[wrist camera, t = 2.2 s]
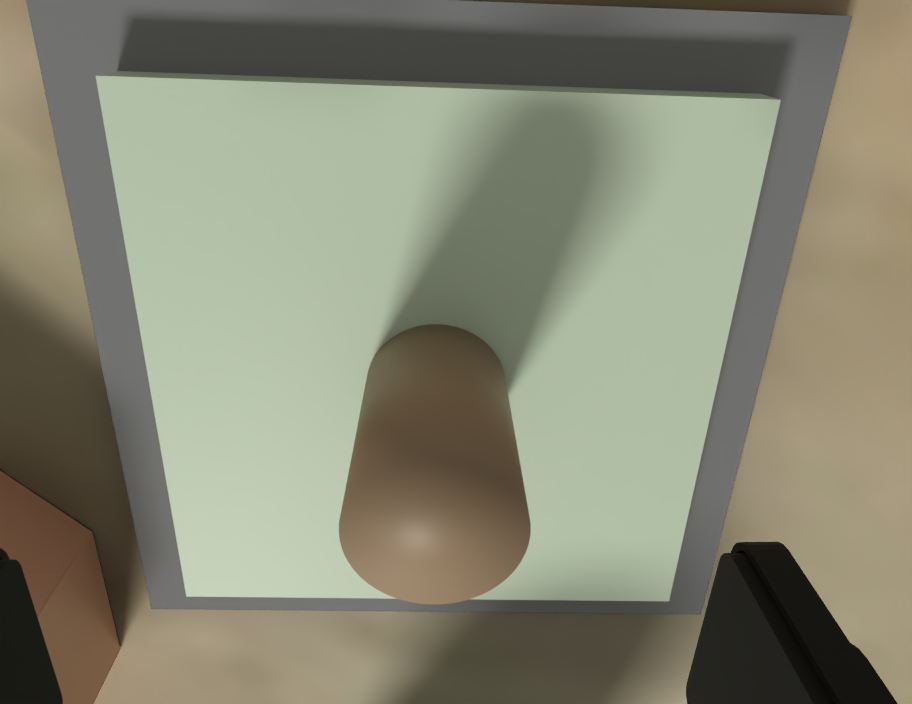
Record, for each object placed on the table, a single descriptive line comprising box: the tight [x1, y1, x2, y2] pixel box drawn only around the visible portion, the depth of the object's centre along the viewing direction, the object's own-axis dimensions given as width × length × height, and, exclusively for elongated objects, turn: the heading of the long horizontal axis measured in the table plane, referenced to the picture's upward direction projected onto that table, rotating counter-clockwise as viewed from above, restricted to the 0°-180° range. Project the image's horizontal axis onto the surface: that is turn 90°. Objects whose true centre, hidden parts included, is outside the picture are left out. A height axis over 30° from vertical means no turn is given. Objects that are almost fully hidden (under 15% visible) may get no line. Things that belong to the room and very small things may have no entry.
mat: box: [26, 0, 852, 614], centre depth 18 cm, size 16×16×1 cm
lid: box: [96, 71, 781, 605], centre depth 15 cm, size 13×13×6 cm
